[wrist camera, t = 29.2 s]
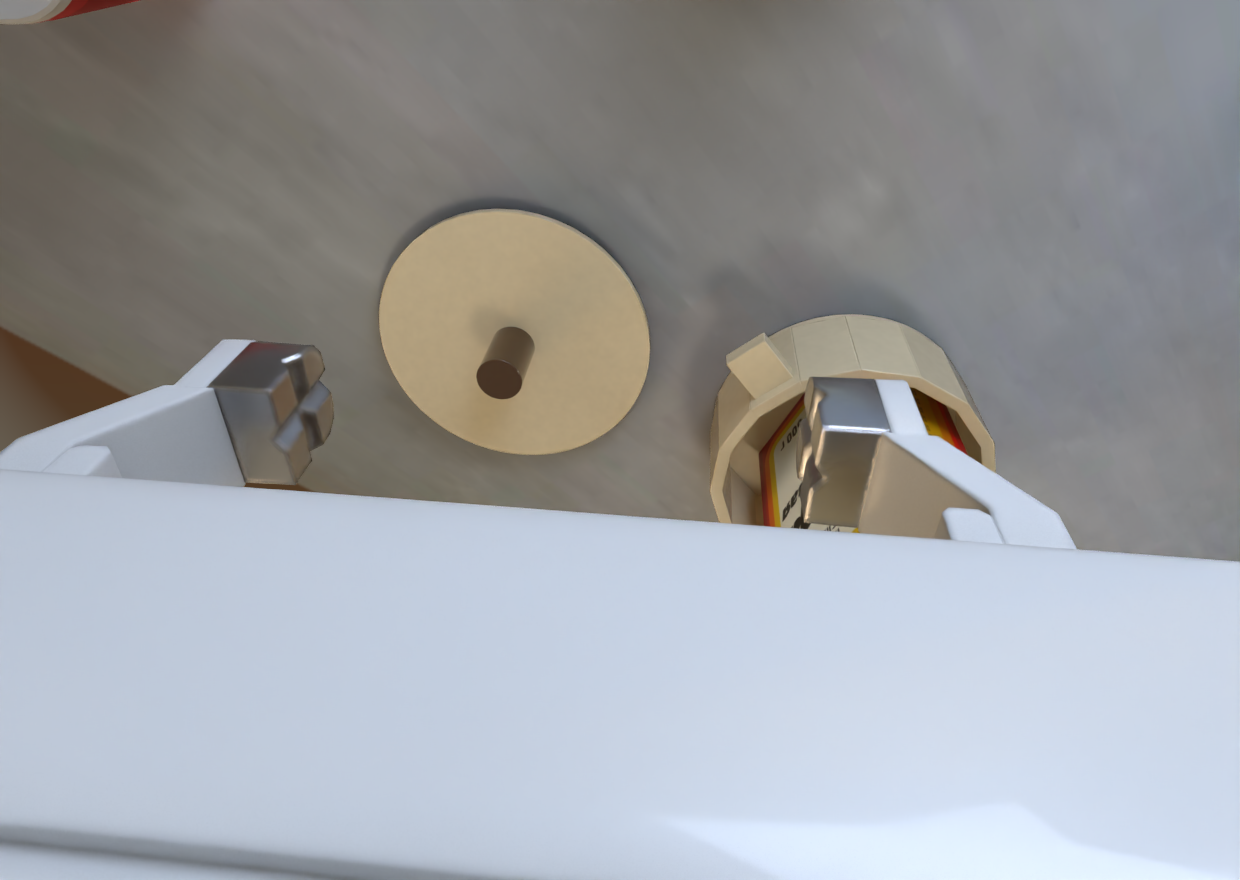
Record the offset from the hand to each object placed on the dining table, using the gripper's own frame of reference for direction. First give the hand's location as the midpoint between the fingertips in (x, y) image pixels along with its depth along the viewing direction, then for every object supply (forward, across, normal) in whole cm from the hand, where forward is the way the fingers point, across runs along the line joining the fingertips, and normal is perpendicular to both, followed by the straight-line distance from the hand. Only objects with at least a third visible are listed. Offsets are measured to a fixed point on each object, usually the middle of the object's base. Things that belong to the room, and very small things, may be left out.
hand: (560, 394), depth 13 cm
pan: (+31, -12, +21) cm, 39 cm away
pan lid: (+30, +8, +16) cm, 35 cm away
